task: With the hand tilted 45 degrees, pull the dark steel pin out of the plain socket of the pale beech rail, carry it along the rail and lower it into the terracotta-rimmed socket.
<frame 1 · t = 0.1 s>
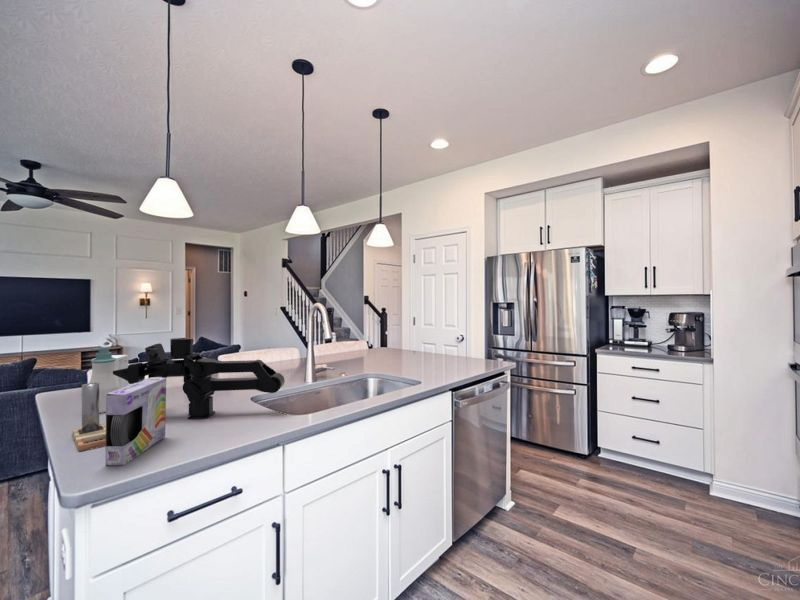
hand: (122, 369, 122), 17 cm above the table, tool horizontal, fingers open, 9 cm apart
socket rail: (92, 439, 104), on the table
steel pin: (90, 434, 107), resting in socket rail
supplement box: (111, 396, 152), on the table
cake pan box: (137, 452, 95), on the table
soap bottle: (104, 410, 133), on the table
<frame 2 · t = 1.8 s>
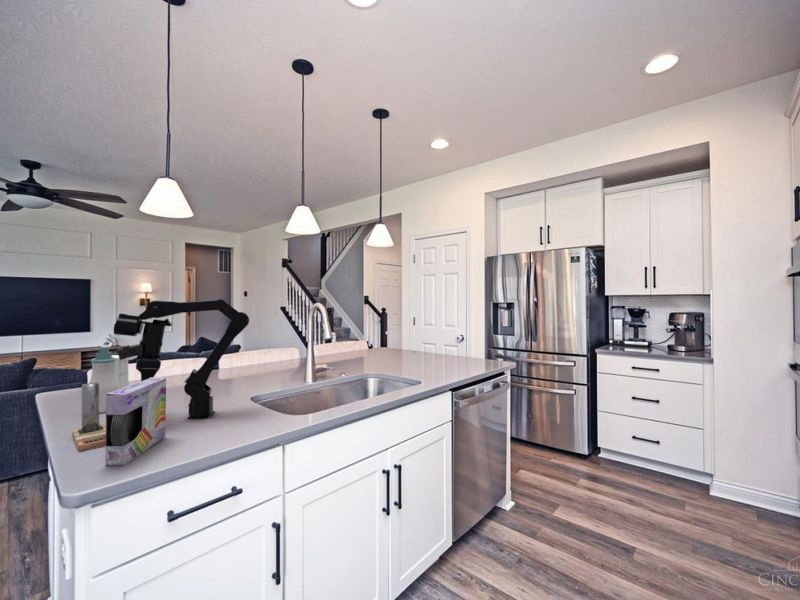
hand: (143, 385, 118), 12 cm above the table, tool pointing down, fingers open, 9 cm apart
nothing on the table moved.
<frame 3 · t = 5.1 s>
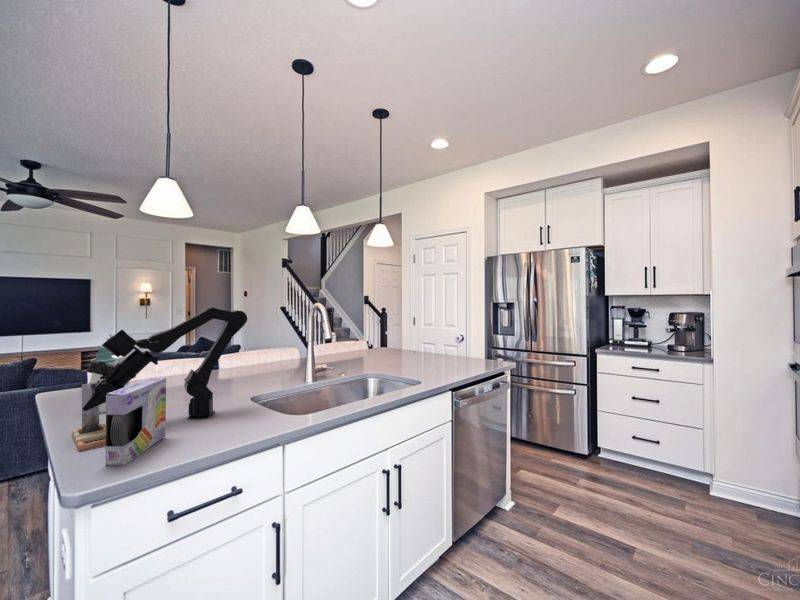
hand: (84, 408, 107), 8 cm above the table, tool tilted 45°, fingers closed on steel pin, 4 cm apart
steel pin: (90, 434, 107), resting in socket rail, touching gripper
everything else where it was.
when the fingers open (9 cm above the table, at t = 9.1 s): steel pin stays where it is, resting in socket rail.
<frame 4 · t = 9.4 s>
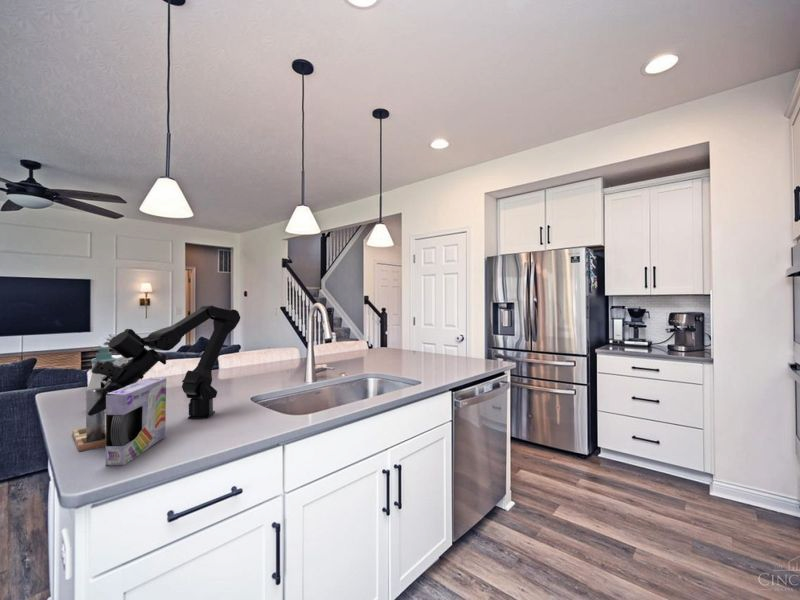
hand: (88, 412, 100), 9 cm above the table, tool tilted 45°, fingers open, 7 cm apart
steel pin: (95, 443, 101), resting in socket rail
everything else where it was.
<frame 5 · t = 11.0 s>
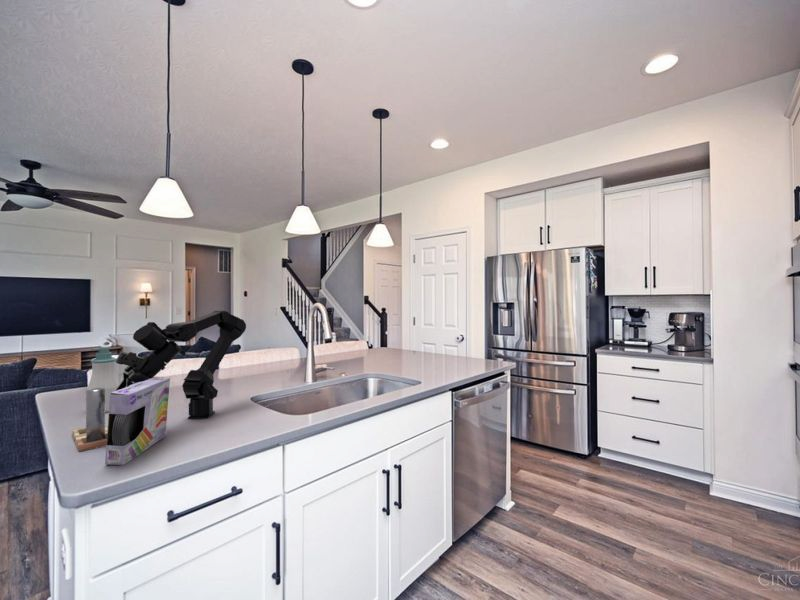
hand: (113, 401, 103), 11 cm above the table, tool tilted 45°, fingers open, 9 cm apart
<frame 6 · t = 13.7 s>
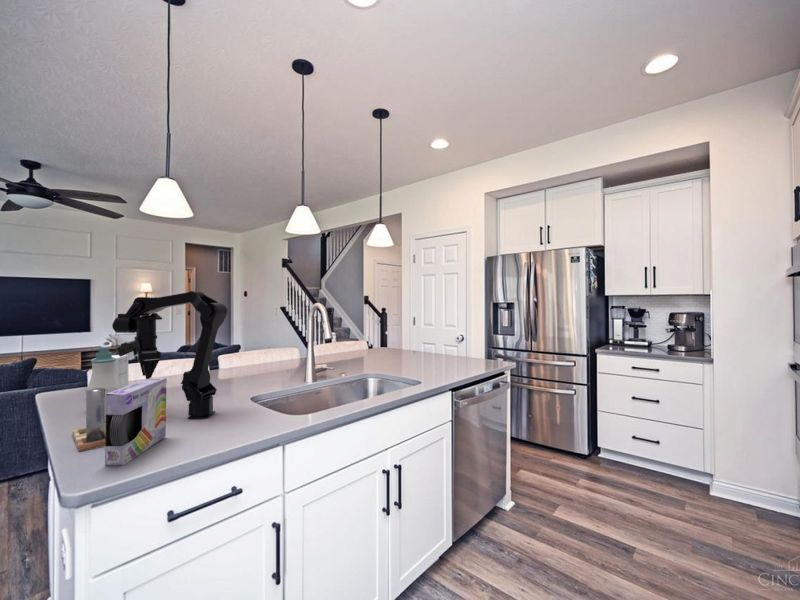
hand: (146, 377, 127), 13 cm above the table, tool pointing down, fingers open, 9 cm apart
at the end: steel pin 0.1 cm from the target spot, resting in socket rail; steel pin tilted 0°; the gripper is holding nothing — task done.
